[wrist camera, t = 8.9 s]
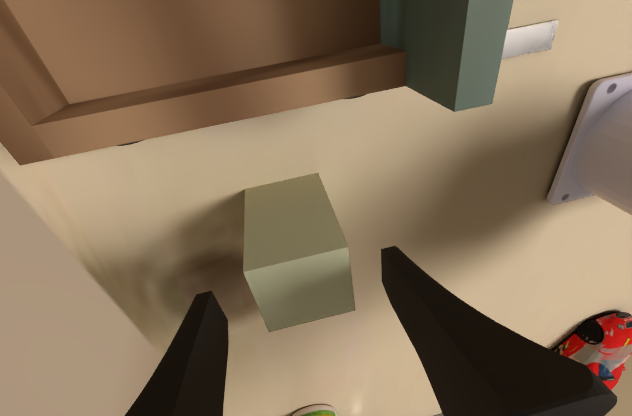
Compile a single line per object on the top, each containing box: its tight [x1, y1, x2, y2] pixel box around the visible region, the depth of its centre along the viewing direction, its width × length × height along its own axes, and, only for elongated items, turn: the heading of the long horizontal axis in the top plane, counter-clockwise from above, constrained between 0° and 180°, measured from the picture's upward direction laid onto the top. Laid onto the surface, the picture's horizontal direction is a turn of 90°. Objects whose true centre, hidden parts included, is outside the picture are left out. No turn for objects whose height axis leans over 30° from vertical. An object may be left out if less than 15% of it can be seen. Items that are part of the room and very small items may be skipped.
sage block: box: [243, 173, 355, 332], centre depth 15 cm, size 4×4×6 cm
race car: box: [554, 312, 632, 390], centre depth 35 cm, size 16×7×5 cm, turn 161°
